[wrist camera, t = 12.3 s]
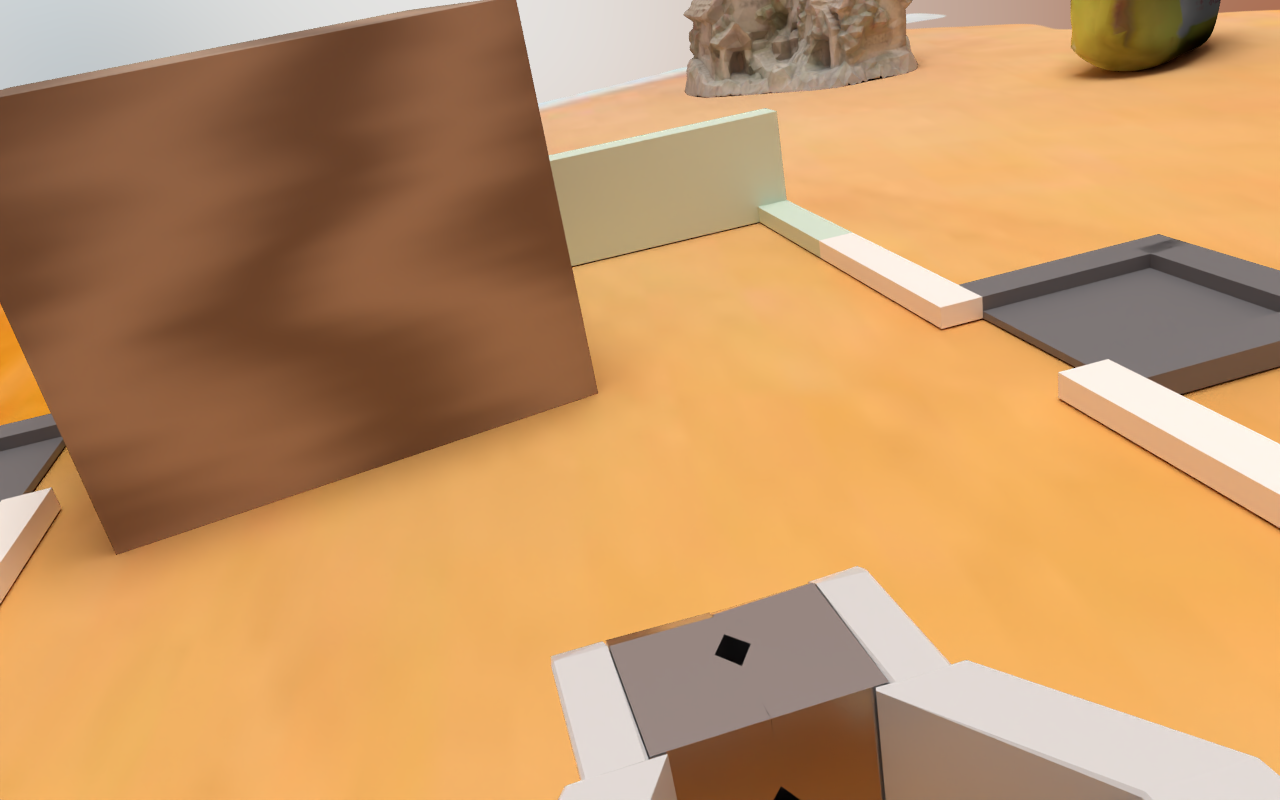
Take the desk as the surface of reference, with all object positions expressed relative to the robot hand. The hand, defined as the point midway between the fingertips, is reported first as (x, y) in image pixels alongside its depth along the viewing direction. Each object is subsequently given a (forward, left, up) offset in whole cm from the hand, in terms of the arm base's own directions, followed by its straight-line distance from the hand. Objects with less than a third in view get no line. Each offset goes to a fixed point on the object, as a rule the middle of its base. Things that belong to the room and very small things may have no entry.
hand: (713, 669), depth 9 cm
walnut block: (-5, +22, -4) cm, 23 cm away
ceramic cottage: (+26, +65, -4) cm, 70 cm away
